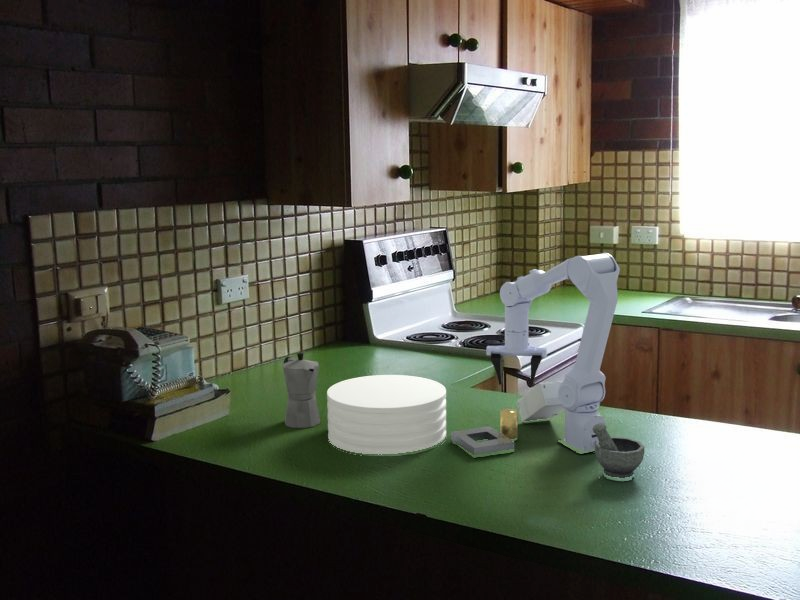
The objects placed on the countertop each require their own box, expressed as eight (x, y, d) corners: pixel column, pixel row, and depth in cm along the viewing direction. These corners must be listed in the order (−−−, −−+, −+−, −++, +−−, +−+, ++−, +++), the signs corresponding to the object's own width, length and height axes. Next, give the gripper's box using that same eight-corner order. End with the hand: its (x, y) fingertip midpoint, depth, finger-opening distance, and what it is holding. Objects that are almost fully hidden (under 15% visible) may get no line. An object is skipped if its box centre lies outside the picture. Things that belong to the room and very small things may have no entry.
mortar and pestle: (625, 465, 185) (627, 411, 183) (652, 481, 176) (654, 424, 174) (579, 472, 181) (581, 417, 179) (605, 489, 172) (606, 431, 170)
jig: (514, 452, 194) (514, 441, 193) (474, 458, 190) (474, 448, 189) (489, 436, 205) (489, 426, 204) (450, 442, 201) (450, 431, 200)
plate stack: (457, 423, 215) (457, 378, 213) (430, 462, 189) (430, 411, 187) (350, 415, 223) (349, 371, 221) (310, 452, 196) (309, 403, 194)
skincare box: (520, 423, 214) (544, 407, 200) (515, 399, 216) (538, 382, 203) (551, 419, 216) (576, 403, 203) (546, 396, 218) (570, 378, 205)
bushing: (520, 441, 201) (520, 412, 200) (505, 443, 199) (505, 414, 198) (512, 436, 205) (512, 407, 203) (497, 438, 203) (497, 409, 202)
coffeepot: (332, 426, 213) (330, 355, 210) (297, 433, 208) (295, 360, 205) (303, 410, 226) (301, 343, 223) (270, 417, 221) (267, 348, 218)
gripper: (548, 327, 213) (547, 381, 215) (489, 326, 216) (489, 378, 218) (545, 333, 206) (545, 389, 208) (485, 331, 209) (485, 386, 212)
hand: (516, 384), depth 213 cm, fingers open, 7 cm apart
